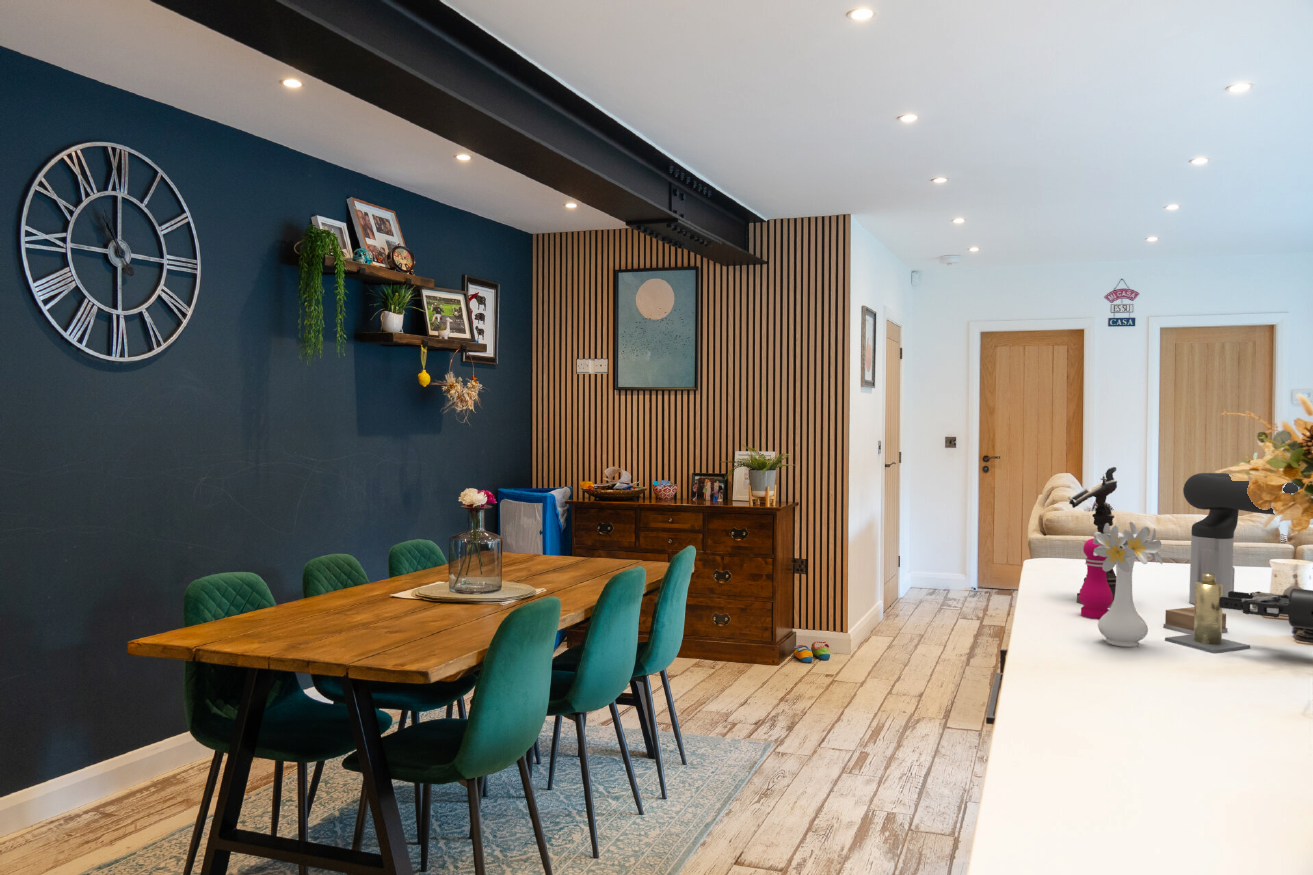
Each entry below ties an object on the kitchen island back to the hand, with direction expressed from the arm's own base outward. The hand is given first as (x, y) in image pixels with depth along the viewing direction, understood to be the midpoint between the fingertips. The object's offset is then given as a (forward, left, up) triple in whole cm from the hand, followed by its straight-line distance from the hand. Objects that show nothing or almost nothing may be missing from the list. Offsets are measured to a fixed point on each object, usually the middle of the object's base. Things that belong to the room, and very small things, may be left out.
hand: (1224, 599), depth 193 cm
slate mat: (+1, -3, -10) cm, 10 cm away
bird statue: (-11, -43, -10) cm, 45 cm away
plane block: (-9, -13, -10) cm, 18 cm away
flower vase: (+18, -9, -10) cm, 22 cm away
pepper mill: (+1, -31, -10) cm, 32 cm away
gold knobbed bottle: (+1, -3, -9) cm, 10 cm away
